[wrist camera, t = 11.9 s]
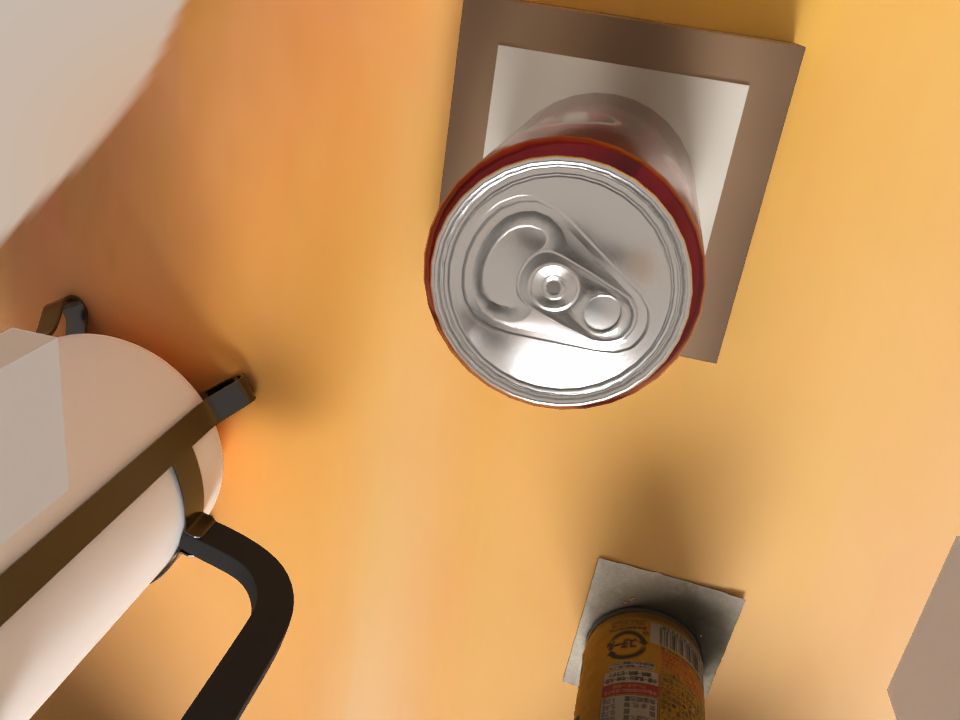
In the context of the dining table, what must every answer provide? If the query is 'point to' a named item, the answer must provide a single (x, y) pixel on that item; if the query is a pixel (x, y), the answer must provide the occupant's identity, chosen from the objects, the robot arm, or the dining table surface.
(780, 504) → the dining table surface
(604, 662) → the condiment
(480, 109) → the picture frame
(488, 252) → the soda can
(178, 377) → the coffee press
